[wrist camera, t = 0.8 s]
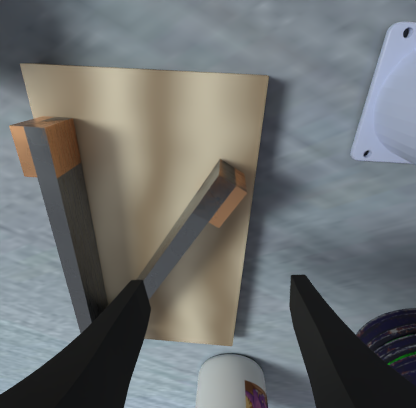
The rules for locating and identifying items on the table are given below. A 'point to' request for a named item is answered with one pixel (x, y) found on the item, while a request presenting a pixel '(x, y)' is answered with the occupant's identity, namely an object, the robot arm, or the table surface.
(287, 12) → the table surface
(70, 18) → the table surface
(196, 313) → the board
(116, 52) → the table surface
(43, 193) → the tongs fixed arm
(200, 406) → the milk bottle
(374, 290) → the table surface
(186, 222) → the arm
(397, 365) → the storage jar
